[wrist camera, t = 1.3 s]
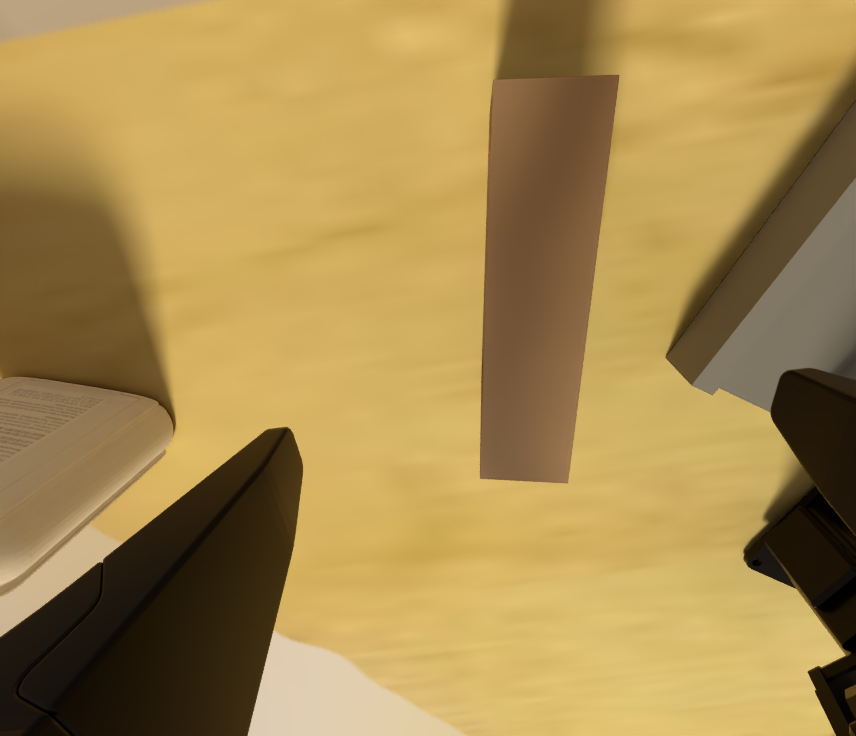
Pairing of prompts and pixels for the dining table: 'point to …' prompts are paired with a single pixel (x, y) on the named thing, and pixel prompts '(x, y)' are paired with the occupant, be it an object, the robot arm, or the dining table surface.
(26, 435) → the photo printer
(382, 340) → the dining table surface
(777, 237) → the display ledge
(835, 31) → the dining table surface
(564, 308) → the brown flat block
